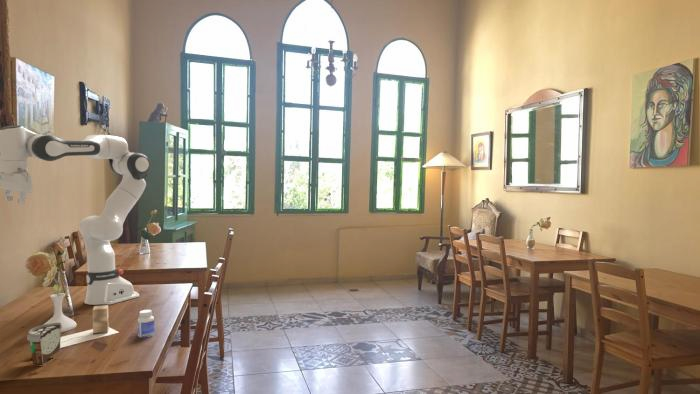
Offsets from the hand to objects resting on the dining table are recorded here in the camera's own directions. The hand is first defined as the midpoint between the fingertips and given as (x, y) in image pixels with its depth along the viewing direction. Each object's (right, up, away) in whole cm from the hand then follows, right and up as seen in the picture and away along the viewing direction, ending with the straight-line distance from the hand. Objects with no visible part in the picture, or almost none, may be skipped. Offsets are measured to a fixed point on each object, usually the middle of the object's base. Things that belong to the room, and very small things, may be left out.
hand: (15, 202), depth 178 cm
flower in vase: (+25, -48, -12) cm, 56 cm away
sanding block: (+42, -47, -15) cm, 65 cm away
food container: (+36, -49, -37) cm, 71 cm away
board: (+38, -48, -20) cm, 65 cm away
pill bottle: (+60, -48, -18) cm, 79 cm away
